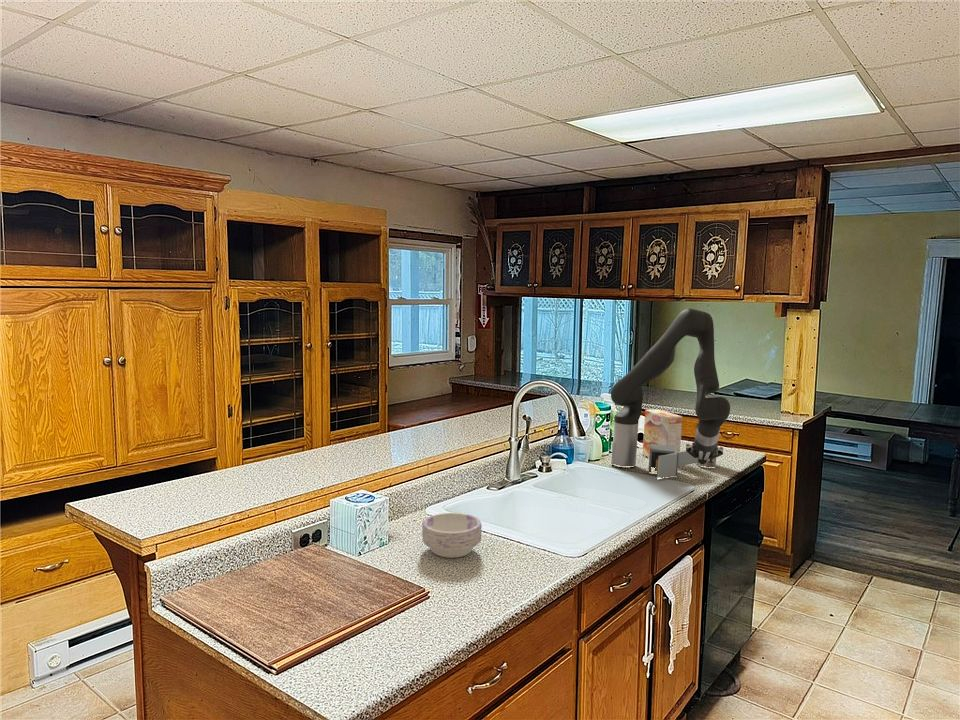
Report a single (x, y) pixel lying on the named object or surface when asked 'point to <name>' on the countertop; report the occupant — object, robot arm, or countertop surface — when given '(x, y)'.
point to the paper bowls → (451, 534)
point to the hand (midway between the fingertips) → (701, 462)
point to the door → (673, 463)
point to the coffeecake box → (661, 430)
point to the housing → (658, 454)
